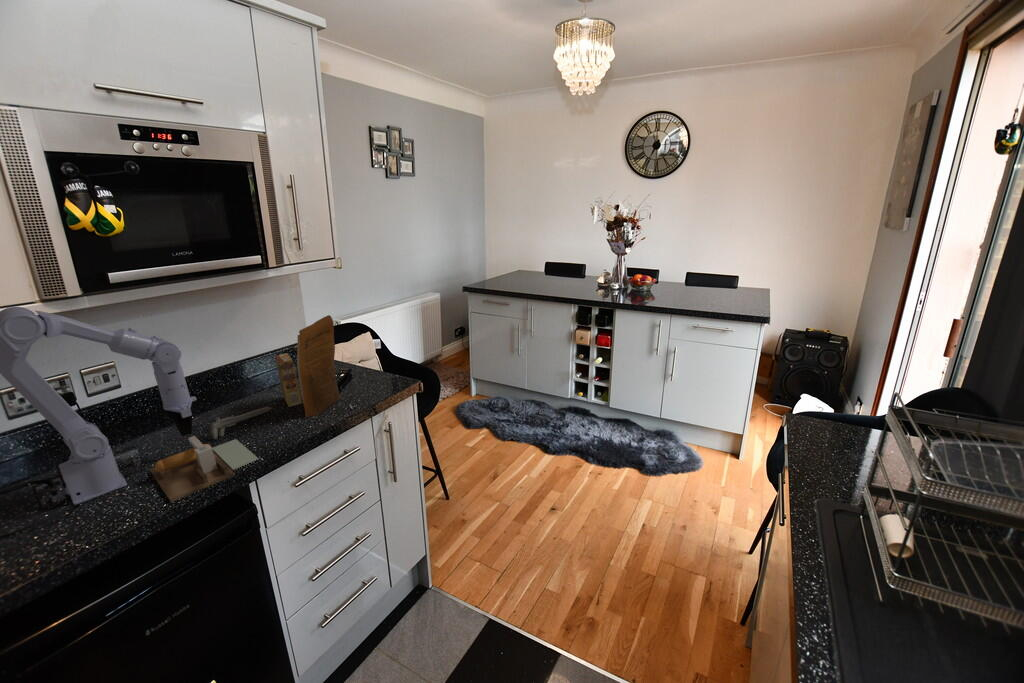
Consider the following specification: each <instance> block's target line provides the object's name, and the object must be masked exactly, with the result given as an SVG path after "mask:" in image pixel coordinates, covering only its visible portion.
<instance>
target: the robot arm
mask: <svg viewBox="0 0 1024 683" xmlns="http://www.w3.org/2000/svg"><path fill="white" fill-rule="evenodd" d="M34 312H35V313H34ZM34 312H33V311H32V310H30V309H29V308H26V307H22V306H10V307H6V308H4V309H1V310H0V375H1V376H2V377H3V378H4V379H5V380H6V381H7V382H8V383H9V384H10V385H11V386H12V387H13V388H14V389H15V390H16V391H17V392H18V393H19V394H20V395H21V396H22V397H23V398H24V399H26V401H27V402H28V403H29V404H30V405H31V406H32V407H33V408H34V409H35V410H36V411H37V412H38V413H39V414H40V415H41V416H43V418H44V419H45V420H46V421H48V423H49V424H50V425H51V426H52V427H53V428H54V429H55V430H56V431H57V432H58V433H59V435H60V436H61V437H63V441H64V443H65V445H66V446H67V447H68V448H69V450H70V456H68V459H69V460H67V461H65V462H63V463H59V464H58V467H59V470H60V472H61V473H60V474H61V475H62V476H61V477H62V478H63V481H64V484H65V491H66V494H67V495H68V496H70V498H71V501H72V504H73V505H75V506H76V505H78V504H82V503H84V502H87V501H90V500H92V499H94V498H97V497H100V496H102V495H105V494H108V493H110V492H113V491H115V490H119V489H121V488H123V487H126V486H128V483H127V481H126V479H125V477H124V476H123V474H122V472H120V471H119V467H118V465H117V461H116V459H115V456H114V455H115V454H114V453H113V451H112V448H111V445H109V444H110V443H109V439H108V437H107V436H105V435H104V434H103V433H102V431H101V430H100V428H99V427H98V426H97V425H96V424H95V423H93V422H92V423H91V422H88V421H86V420H85V419H83V417H82V416H80V415H79V413H77V412H76V410H74V409H73V407H72V406H70V404H69V403H68V402H67V401H66V400H65V399H64V398H63V397H62V396H61V395H60V393H59V392H57V391H56V389H54V387H53V386H52V385H51V384H50V383H49V382H48V381H47V380H46V379H45V378H44V377H43V376H42V375H41V374H40V373H39V372H38V371H37V369H36V368H34V366H33V365H32V364H31V363H30V362H29V361H28V360H27V357H28V354H29V352H30V350H31V347H32V346H33V344H35V343H37V341H38V340H39V339H40V338H41V337H42V336H44V337H46V338H53V337H57V336H61V335H66V336H69V337H70V336H71V337H74V338H77V339H82V340H83V339H84V340H87V341H91V342H96V343H100V344H104V345H107V346H108V347H109V350H110V351H111V352H112V353H116V354H120V355H123V356H126V357H127V356H128V357H132V358H135V359H138V360H149V361H151V365H152V369H153V374H154V378H155V380H156V384H157V388H158V391H159V394H160V397H161V401H162V407H163V410H165V412H164V413H165V414H166V415H167V417H168V418H170V419H171V421H172V422H173V424H174V425H175V428H176V429H177V430H178V432H179V434H180V435H181V436H182V437H186V436H188V435H191V434H192V433H193V417H194V413H195V410H196V409H195V407H193V405H192V403H193V402H195V401H197V397H196V396H195V395H194V396H191V395H190V392H189V389H188V385H187V381H186V377H185V374H184V370H183V367H182V365H181V362H180V359H181V357H182V351H181V350H180V348H179V347H178V346H177V345H176V344H174V343H173V342H170V341H169V340H166V339H163V338H162V337H159V336H157V335H153V336H149V335H146V334H144V333H140V332H138V330H137V329H135V328H132V327H129V328H128V329H126V328H120V329H117V330H114V331H113V330H109V329H107V328H106V329H105V328H103V327H100V326H99V327H98V326H96V325H93V324H89V323H86V322H83V321H80V320H76V319H75V318H74V319H73V318H70V317H66V316H62V315H59V314H56V313H52V312H46V311H41V310H34ZM36 314H37V315H36Z"/></svg>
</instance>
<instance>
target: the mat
mask: <svg viewBox="0 0 1024 683" xmlns="http://www.w3.org/2000/svg"><path fill="white" fill-rule="evenodd" d="M212 450H213V452H214V453H215V454H216V455H217V456H218V457H219V458H220V459H221V460H222V461H223V462H224V463H225V464H226V465H227V466H228V467H229V468H230V469H231V470H232V471H233V470H234V471H236V470H238V468H239V469H241V468H243V467H242V466H244V467H246V466H248V465H250V464H249V463H251V464H253V463H255V462H254V461H256V460H258V461H259V458H258V456H256V454H254V453H253V452H252V451H251V450H249V449H248V448H247V447H246V446H245V445H244V444H242V443H241V442H240V441H239V440H238V439H236V438H235V439H232V440H230V441H226V442H225V443H222V444H218V445H217V446H213V447H212ZM252 462H253V463H252ZM256 462H257V461H256ZM247 464H248V465H247ZM245 465H246V466H245ZM240 467H241V468H240ZM235 469H236V470H235Z"/></svg>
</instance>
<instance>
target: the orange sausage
mask: <svg viewBox="0 0 1024 683" xmlns="http://www.w3.org/2000/svg"><path fill="white" fill-rule="evenodd" d="M202 444H203V443H202ZM203 445H204V446H206V445H209V446H210V447H211V448H213V447H212V446H211V444H209V443H204V444H203ZM194 450H195V448H194V447H192V448H191V449H187V450H185V451H182V452H179V453H176V454H172V455H171V456H168V457H165V458H162V459H159V460H158V461H156V463H155V464H154V467H155V469H156V470H157V471H158V472H162V471H165V470H168V469H173V468H176V467H178V466H181V465H184V464H186V463H189V462H192V461H194V460H197V458H196V455H195V451H194Z"/></svg>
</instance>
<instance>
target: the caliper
mask: <svg viewBox="0 0 1024 683" xmlns="http://www.w3.org/2000/svg"><path fill="white" fill-rule="evenodd" d="M272 409H273V408H272V407H269V406H264V407H262V408H259V409H255V410H252V411H248V412H246V413H242V414H240V415H236V416H234V415H232V416H228V417H225V418H221V419H220V417H219V416H216V418H212V422H210V432H211V436H212V439H213V440H218V438H223V437H224V435H225V430H226V427H227V428H230V427H233V426H236V423H238V422H242V421H244V420H247V419H250V418H253V417H257V416H259V415H262V414H266V413H268V412H269V411H270V410H272ZM222 436H223V437H222Z"/></svg>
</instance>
